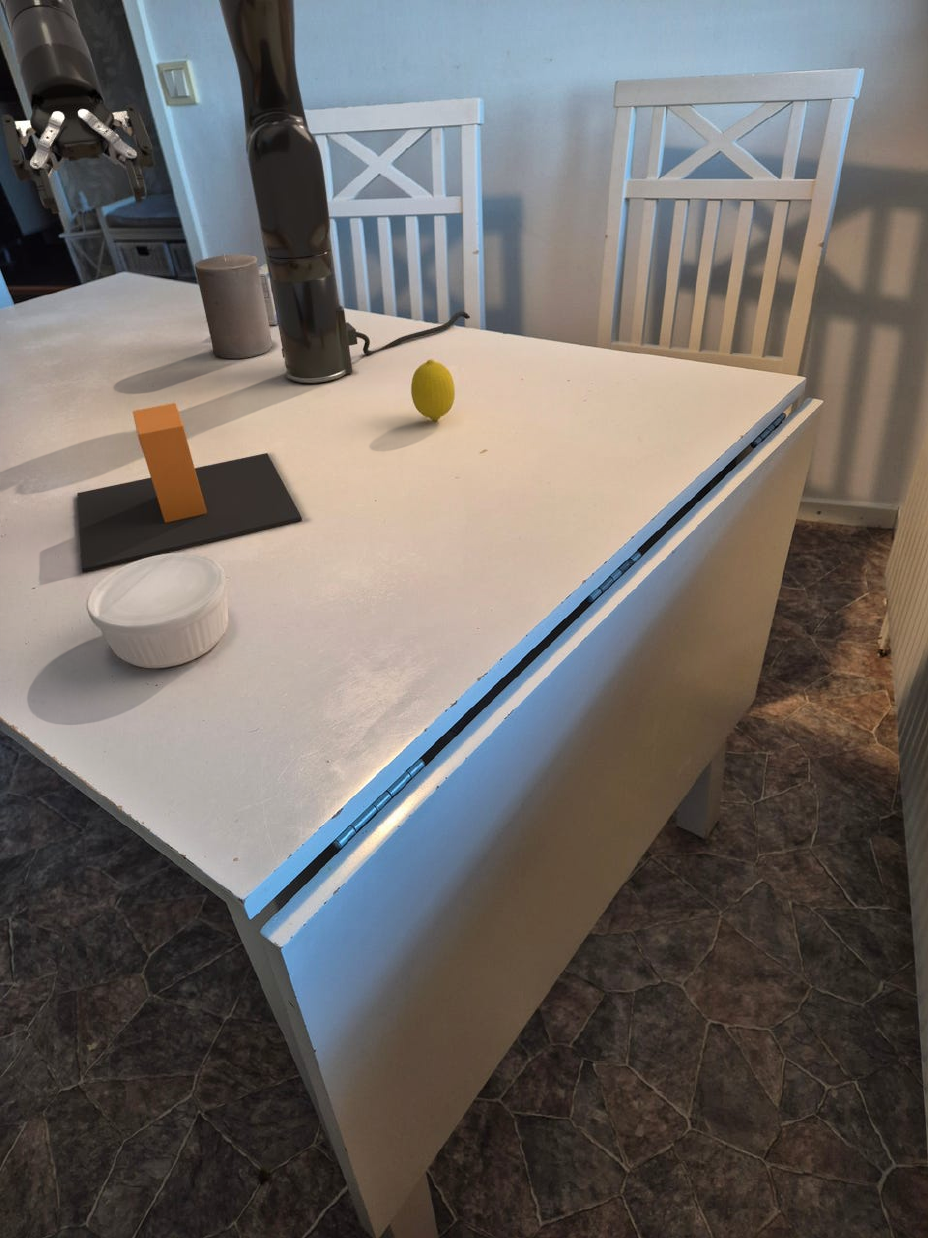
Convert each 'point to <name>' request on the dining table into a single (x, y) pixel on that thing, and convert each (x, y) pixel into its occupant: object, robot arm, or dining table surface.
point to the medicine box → (268, 294)
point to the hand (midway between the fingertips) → (97, 202)
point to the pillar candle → (234, 305)
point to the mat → (136, 529)
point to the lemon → (432, 390)
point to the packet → (169, 462)
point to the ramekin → (162, 609)
